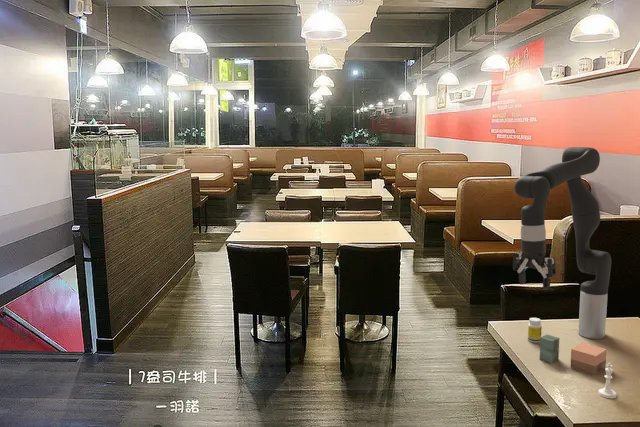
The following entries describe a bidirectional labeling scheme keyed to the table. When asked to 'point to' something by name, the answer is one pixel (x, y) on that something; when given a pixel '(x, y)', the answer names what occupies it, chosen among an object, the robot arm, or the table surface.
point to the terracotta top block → (588, 354)
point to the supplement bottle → (534, 330)
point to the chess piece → (607, 385)
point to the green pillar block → (549, 348)
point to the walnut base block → (588, 367)
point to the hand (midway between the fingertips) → (534, 286)
